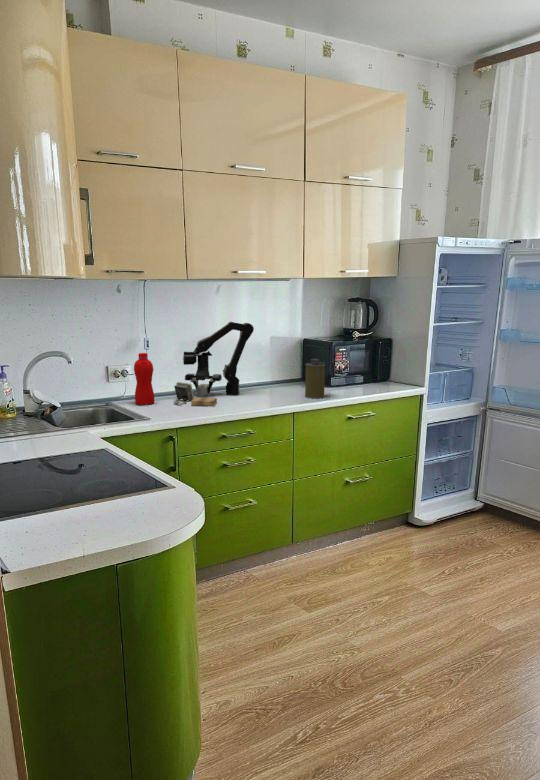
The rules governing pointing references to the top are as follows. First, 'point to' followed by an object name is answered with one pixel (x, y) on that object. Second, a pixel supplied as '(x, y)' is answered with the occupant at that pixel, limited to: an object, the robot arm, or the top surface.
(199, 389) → the housing
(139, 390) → the water bottle
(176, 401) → the bolt
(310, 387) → the canister
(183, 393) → the electrical switch
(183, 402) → the bolt
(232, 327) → the robot arm
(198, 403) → the stand
